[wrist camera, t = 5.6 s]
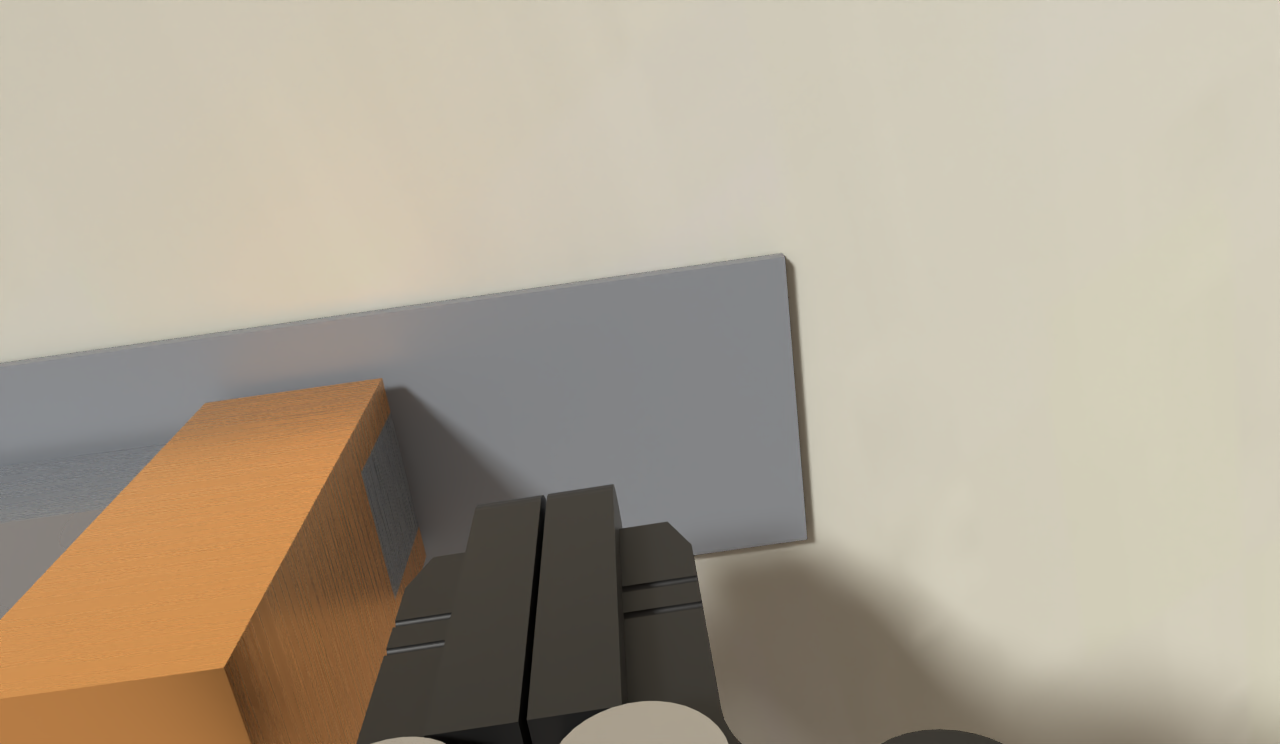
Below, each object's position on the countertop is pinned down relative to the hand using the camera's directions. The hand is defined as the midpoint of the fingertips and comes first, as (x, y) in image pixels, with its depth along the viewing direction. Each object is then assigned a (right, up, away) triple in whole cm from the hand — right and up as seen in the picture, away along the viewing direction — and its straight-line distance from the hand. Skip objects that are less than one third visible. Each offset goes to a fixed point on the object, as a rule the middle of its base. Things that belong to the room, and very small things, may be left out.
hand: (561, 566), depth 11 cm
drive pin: (-7, 0, +3) cm, 8 cm away
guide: (-4, +1, +3) cm, 5 cm away
